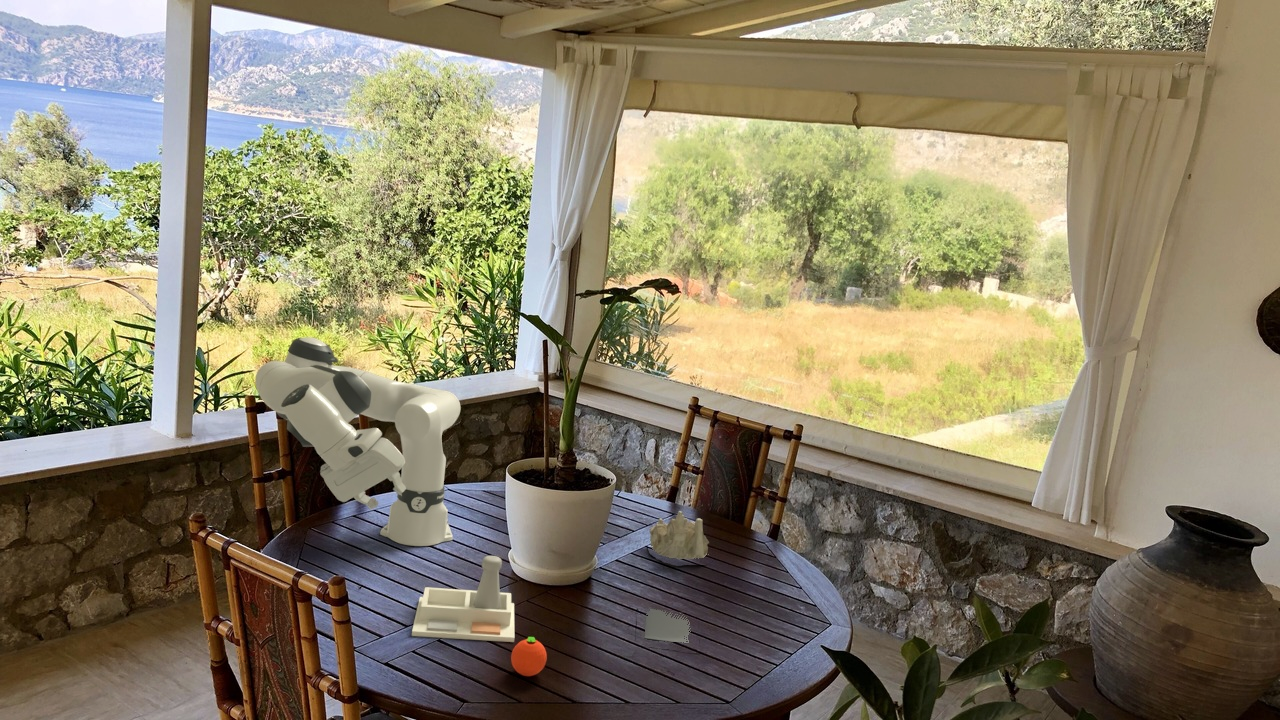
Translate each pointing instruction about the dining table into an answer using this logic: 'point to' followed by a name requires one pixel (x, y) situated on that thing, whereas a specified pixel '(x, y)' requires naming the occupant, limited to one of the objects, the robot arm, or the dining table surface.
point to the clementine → (529, 657)
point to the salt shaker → (489, 584)
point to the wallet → (666, 627)
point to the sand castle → (679, 538)
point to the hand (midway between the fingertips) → (388, 499)
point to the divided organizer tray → (462, 616)
